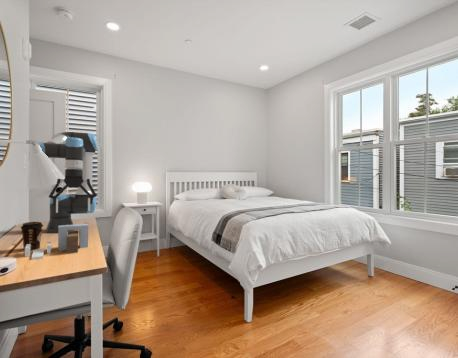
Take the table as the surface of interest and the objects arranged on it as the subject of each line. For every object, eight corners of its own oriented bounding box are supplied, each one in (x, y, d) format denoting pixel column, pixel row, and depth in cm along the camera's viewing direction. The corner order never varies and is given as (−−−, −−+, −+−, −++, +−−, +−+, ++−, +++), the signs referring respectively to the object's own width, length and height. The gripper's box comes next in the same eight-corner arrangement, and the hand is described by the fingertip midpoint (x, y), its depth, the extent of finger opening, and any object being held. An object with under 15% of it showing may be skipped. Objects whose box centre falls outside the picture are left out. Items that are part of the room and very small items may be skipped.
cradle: (26, 252, 120) (26, 244, 120) (51, 249, 125) (51, 241, 125) (23, 260, 109) (23, 251, 109) (50, 257, 114) (50, 248, 114)
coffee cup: (39, 245, 132) (39, 220, 131) (45, 248, 127) (46, 222, 127) (18, 249, 124) (18, 223, 124) (24, 252, 120) (24, 225, 119)
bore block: (58, 248, 128) (58, 225, 128) (87, 244, 135) (87, 223, 135) (58, 250, 124) (58, 227, 123) (88, 247, 131) (88, 225, 131)
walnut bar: (68, 246, 132) (68, 231, 131) (78, 245, 134) (78, 230, 134) (66, 254, 119) (66, 237, 119) (77, 252, 122) (77, 236, 122)
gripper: (42, 167, 117) (41, 214, 117) (102, 169, 131) (102, 210, 130) (43, 168, 123) (42, 212, 123) (100, 170, 137) (100, 209, 137)
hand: (73, 211), depth 127 cm, fingers open, 13 cm apart
